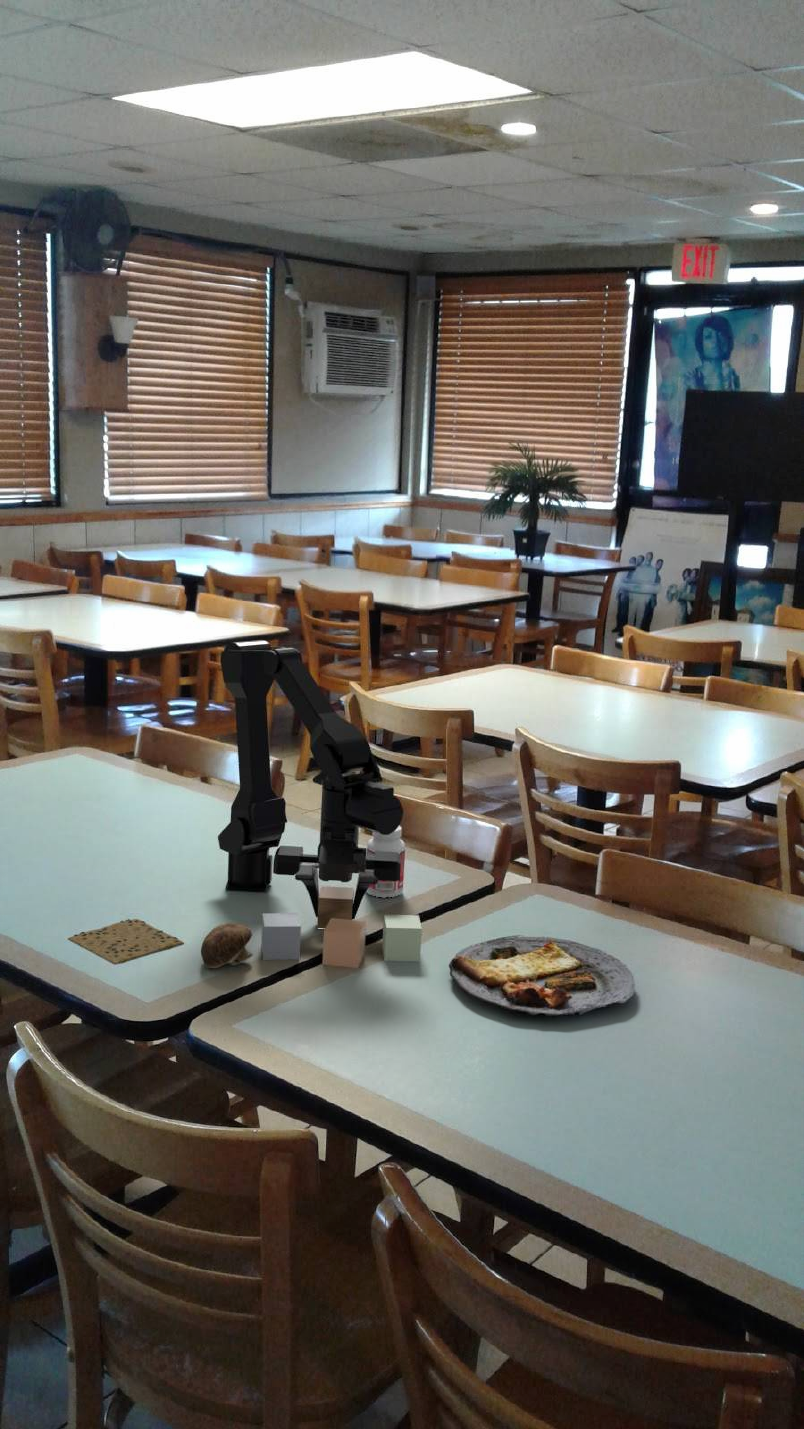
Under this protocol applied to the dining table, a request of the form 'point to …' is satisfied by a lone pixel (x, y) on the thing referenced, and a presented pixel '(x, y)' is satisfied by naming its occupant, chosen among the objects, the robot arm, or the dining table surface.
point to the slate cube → (280, 936)
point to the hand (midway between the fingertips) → (335, 917)
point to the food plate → (541, 975)
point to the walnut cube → (334, 904)
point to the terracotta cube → (344, 942)
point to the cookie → (125, 941)
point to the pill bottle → (387, 845)
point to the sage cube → (401, 938)
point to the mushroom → (226, 945)
